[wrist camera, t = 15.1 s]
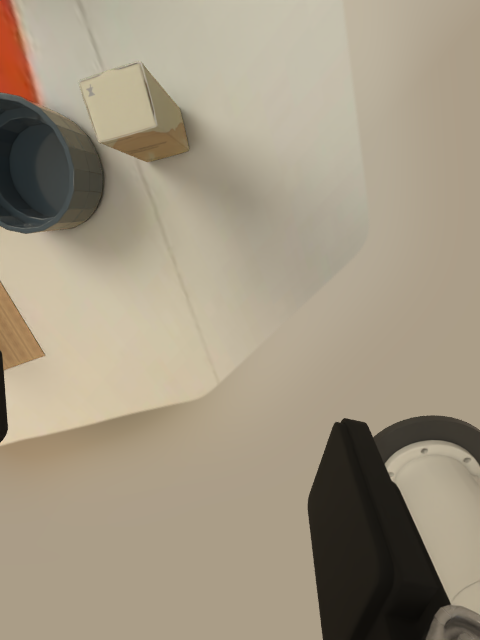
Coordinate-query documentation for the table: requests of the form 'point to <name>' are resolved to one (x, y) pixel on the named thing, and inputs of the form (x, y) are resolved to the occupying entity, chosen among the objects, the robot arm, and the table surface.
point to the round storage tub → (44, 169)
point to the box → (134, 113)
